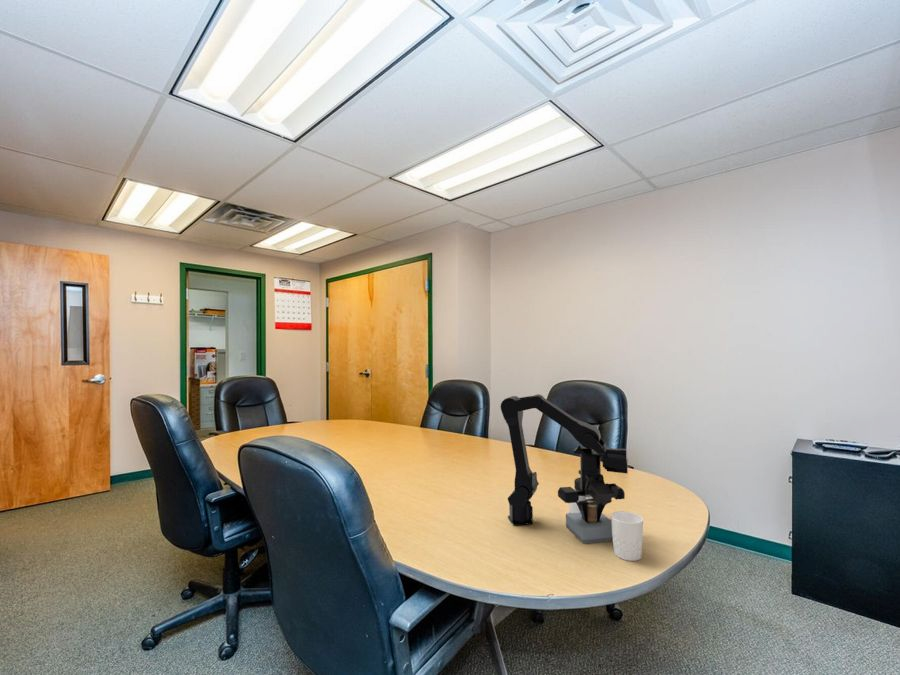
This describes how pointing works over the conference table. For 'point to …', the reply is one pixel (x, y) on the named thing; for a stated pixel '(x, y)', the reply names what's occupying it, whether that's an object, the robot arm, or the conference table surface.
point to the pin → (591, 512)
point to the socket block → (589, 528)
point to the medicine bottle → (573, 506)
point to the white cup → (627, 535)
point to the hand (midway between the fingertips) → (591, 522)
